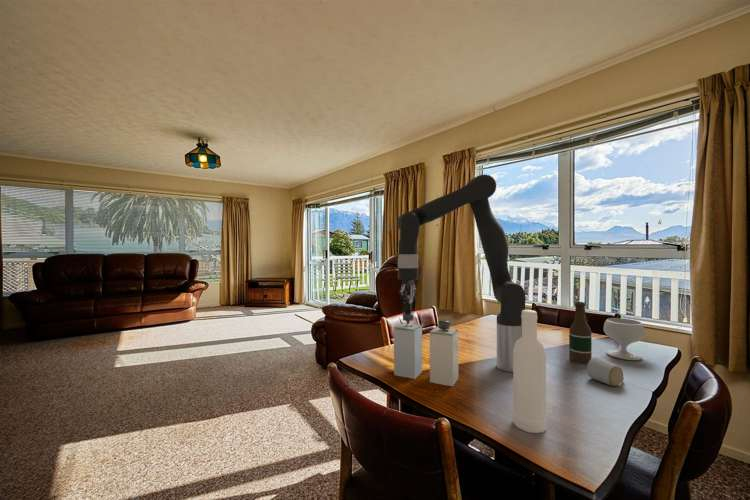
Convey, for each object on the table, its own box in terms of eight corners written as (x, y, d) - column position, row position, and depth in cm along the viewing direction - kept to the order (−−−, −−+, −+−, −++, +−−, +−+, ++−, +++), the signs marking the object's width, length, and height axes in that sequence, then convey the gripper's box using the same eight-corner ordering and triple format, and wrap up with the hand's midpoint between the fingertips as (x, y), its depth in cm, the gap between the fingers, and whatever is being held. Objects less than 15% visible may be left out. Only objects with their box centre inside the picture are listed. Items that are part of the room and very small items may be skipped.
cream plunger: (454, 361, 113) (454, 320, 113) (450, 367, 108) (450, 323, 108) (438, 358, 116) (438, 318, 116) (433, 364, 111) (433, 321, 111)
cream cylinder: (610, 389, 104) (611, 365, 104) (586, 379, 112) (586, 357, 112) (631, 384, 108) (631, 361, 108) (605, 375, 116) (606, 354, 116)
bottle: (552, 427, 82) (552, 311, 82) (535, 437, 78) (535, 315, 78) (524, 414, 89) (524, 307, 89) (506, 422, 85) (506, 310, 85)
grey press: (422, 371, 120) (422, 324, 120) (414, 379, 113) (414, 329, 113) (402, 367, 124) (402, 322, 124) (394, 375, 117) (393, 327, 117)
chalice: (599, 349, 144) (599, 316, 144) (637, 352, 139) (637, 318, 139) (609, 359, 131) (609, 323, 131) (651, 363, 126) (651, 326, 126)
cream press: (458, 377, 114) (458, 329, 114) (452, 386, 107) (452, 334, 107) (436, 373, 118) (436, 326, 117) (429, 382, 111) (429, 331, 110)
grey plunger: (418, 351, 120) (418, 312, 120) (413, 356, 114) (412, 315, 114) (403, 349, 122) (403, 311, 122) (397, 354, 117) (397, 314, 117)
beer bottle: (571, 363, 128) (571, 303, 128) (567, 356, 135) (567, 300, 135) (594, 365, 125) (594, 304, 125) (589, 359, 132) (589, 301, 132)
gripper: (411, 267, 111) (411, 317, 111) (423, 265, 122) (423, 310, 122) (391, 267, 114) (391, 315, 114) (405, 265, 126) (405, 309, 126)
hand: (408, 313), depth 118 cm, fingers closed
